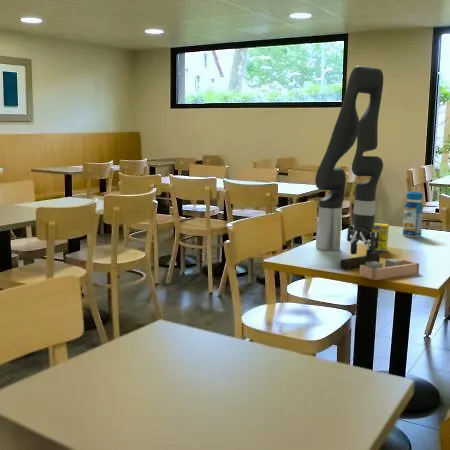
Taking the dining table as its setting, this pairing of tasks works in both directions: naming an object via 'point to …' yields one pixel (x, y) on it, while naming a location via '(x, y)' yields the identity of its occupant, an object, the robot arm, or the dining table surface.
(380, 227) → the supplement box
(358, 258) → the hand tool
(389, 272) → the pink rectangular tray
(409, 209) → the beverage bottle
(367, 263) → the stone
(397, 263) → the stone
